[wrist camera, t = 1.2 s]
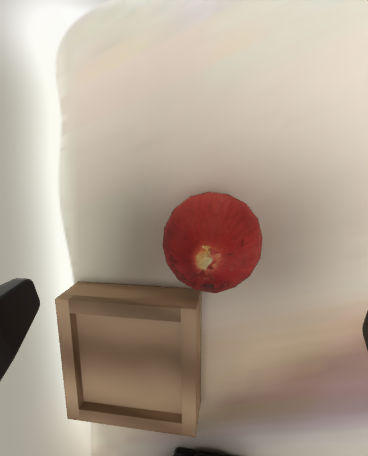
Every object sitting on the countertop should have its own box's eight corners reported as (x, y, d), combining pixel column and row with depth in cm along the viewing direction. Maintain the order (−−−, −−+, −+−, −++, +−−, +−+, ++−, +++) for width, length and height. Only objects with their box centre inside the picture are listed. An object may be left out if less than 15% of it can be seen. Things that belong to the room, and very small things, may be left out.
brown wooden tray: (200, 402, 24) (195, 437, 21) (87, 388, 26) (67, 418, 23) (201, 289, 22) (196, 309, 19) (78, 281, 24) (55, 299, 21)
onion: (250, 272, 21) (259, 334, 14) (172, 261, 22) (139, 313, 14) (262, 193, 20) (281, 210, 12) (179, 183, 21) (147, 194, 13)
